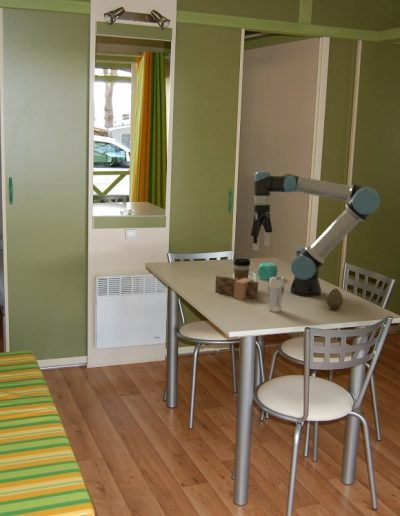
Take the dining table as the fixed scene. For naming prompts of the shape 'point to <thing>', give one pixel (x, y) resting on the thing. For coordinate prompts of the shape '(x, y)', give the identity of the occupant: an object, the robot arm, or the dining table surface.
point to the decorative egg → (334, 299)
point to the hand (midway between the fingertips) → (261, 247)
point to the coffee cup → (241, 268)
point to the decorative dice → (267, 271)
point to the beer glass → (275, 293)
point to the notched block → (241, 288)
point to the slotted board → (227, 286)
